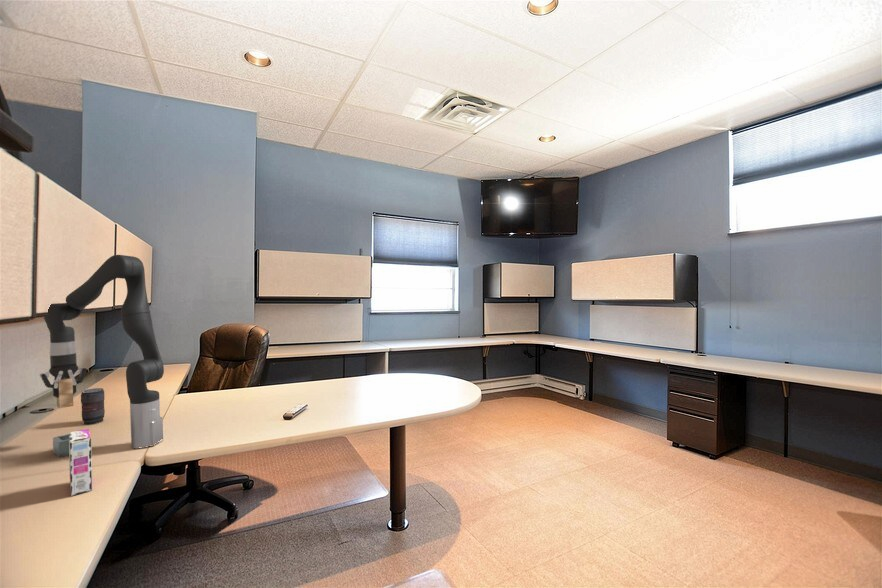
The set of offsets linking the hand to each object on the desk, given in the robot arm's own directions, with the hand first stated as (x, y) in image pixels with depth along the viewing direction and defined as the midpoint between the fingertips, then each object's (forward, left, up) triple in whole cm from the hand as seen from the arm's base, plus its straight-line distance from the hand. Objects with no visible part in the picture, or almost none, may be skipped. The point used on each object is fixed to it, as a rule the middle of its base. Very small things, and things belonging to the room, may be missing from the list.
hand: (65, 395), depth 156 cm
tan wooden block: (0, 0, -4) cm, 4 cm away
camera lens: (+8, -24, -19) cm, 32 cm away
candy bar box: (-36, +39, -19) cm, 56 cm away
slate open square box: (-9, +9, -19) cm, 23 cm away
